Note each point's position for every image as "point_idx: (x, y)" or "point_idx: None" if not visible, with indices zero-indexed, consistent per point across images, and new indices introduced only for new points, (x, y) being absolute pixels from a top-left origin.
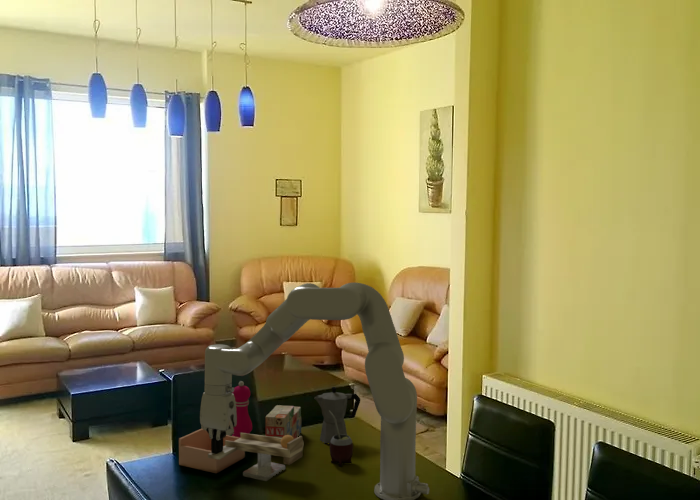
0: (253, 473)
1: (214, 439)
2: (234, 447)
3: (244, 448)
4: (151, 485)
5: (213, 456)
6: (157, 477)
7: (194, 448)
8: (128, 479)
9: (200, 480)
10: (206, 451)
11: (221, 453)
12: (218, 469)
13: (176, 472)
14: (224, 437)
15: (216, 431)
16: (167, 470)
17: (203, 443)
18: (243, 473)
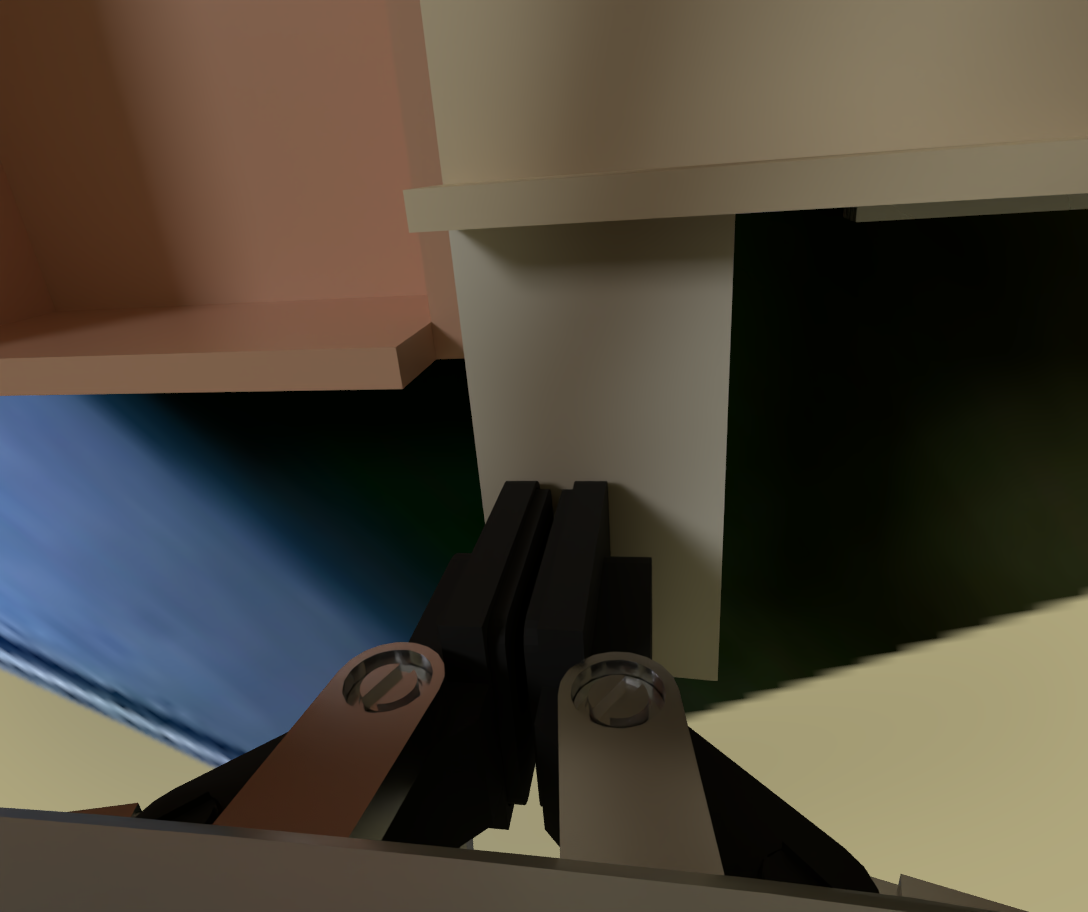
0: None
1: (509, 787)
2: (712, 248)
3: (946, 144)
4: (279, 715)
5: None
6: (186, 606)
7: (71, 392)
8: (85, 697)
9: None
10: (272, 390)
11: (676, 586)
12: None
13: (203, 474)
14: (662, 680)
15: (383, 794)
16: (114, 475)
17: None
18: (857, 218)
